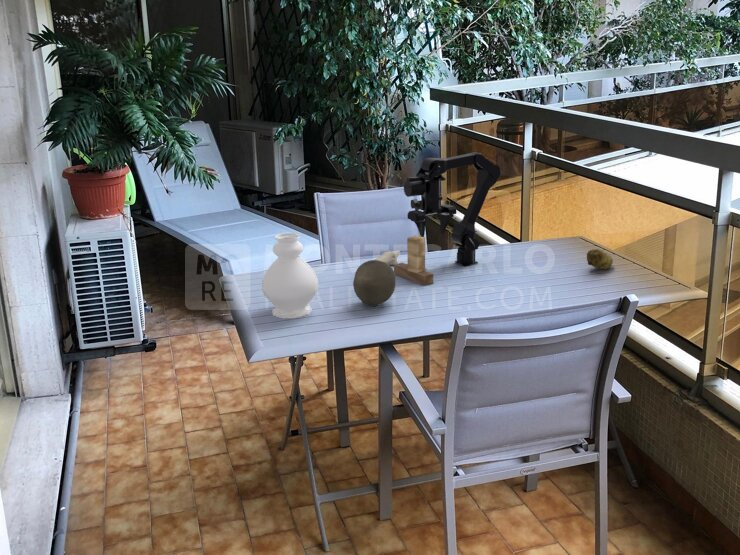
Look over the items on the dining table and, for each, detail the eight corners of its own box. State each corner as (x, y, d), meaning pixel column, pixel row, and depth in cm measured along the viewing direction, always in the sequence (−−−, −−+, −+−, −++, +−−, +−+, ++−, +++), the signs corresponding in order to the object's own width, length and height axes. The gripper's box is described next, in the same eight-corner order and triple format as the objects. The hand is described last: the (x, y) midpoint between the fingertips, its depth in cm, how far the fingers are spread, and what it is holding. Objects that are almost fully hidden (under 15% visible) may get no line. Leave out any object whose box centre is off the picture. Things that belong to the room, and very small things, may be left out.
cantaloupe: (345, 303, 242) (343, 259, 238) (382, 295, 249) (381, 252, 244) (366, 316, 230) (365, 270, 226) (405, 307, 237) (404, 263, 232)
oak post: (415, 267, 266) (415, 235, 262) (425, 270, 263) (425, 237, 259) (407, 270, 263) (407, 237, 259) (416, 273, 260) (416, 239, 256)
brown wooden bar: (402, 271, 274) (402, 262, 273) (433, 283, 260) (433, 273, 259) (393, 273, 272) (393, 264, 271) (424, 285, 257) (424, 276, 256)
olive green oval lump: (621, 269, 270) (623, 247, 267) (594, 274, 265) (595, 252, 262) (605, 263, 277) (607, 242, 274) (578, 268, 272) (579, 247, 269)
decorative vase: (272, 325, 225) (267, 246, 217) (257, 307, 241) (251, 233, 233) (327, 315, 232) (324, 238, 224) (309, 299, 247) (305, 226, 240)
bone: (384, 249, 287) (388, 263, 288) (352, 269, 272) (356, 283, 273) (399, 248, 282) (403, 261, 283) (368, 268, 267) (372, 282, 268)
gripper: (438, 187, 278) (437, 227, 282) (398, 193, 268) (398, 235, 273) (457, 191, 269) (457, 233, 274) (416, 198, 259) (417, 241, 264)
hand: (432, 235), depth 271 cm, fingers open, 9 cm apart
